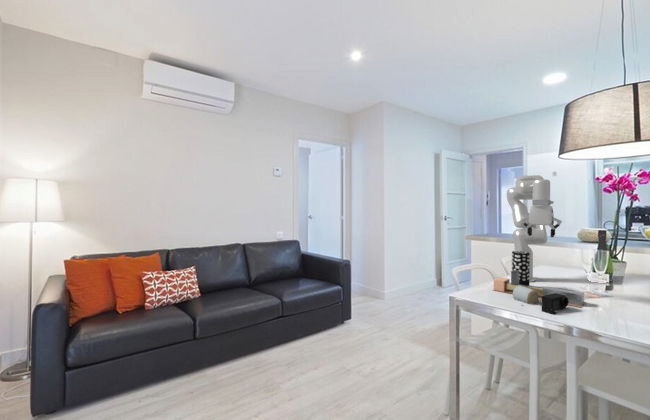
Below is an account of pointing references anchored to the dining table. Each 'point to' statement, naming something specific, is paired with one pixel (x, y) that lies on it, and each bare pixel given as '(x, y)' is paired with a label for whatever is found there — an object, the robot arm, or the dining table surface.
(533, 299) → the ceramic mug
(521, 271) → the spotted tube
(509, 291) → the walnut board
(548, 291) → the metal sleeve
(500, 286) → the terracotta socket
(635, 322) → the dining table surface
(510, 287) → the hammer
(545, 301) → the digital camera
